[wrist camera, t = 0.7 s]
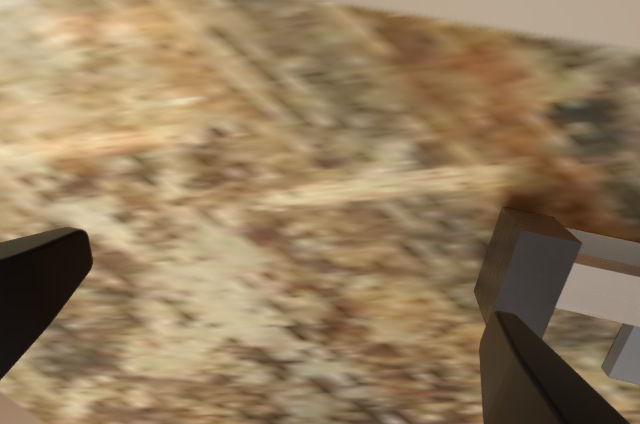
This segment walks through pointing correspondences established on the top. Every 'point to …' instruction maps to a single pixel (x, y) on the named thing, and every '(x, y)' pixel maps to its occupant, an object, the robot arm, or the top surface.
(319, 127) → the top surface
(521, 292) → the vise jaw
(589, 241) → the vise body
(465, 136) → the top surface
